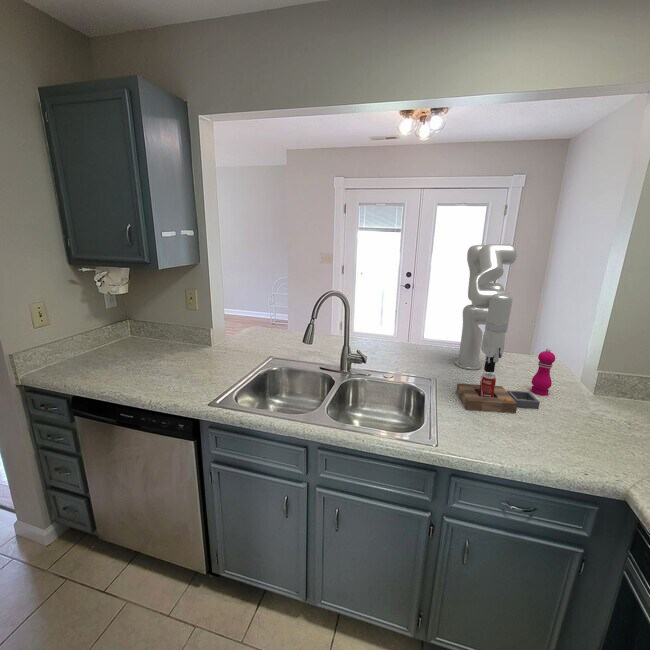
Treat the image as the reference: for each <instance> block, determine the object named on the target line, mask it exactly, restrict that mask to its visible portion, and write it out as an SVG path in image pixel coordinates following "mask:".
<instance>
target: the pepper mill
mask: <svg viewBox="0 0 650 650" xmlns="http://www.w3.org/2000/svg"><path fill="white" fill-rule="evenodd" d="M551 351H552V349H551V348H546V349H545V351H544V350H543V351H541V352H539V354H538V356H537V357H538V359H537V360H539V361H538V364H537V365H538V369H537V371H536V373H535V375H534V376H532V377H531V384H532V386H531V389H530V391H531V392H532V393H533V394H536V395H538V396H548V395H549V389H550V388H551V387H552V384H553V382H552V378H551V369H552V368H553V363H555V361H556V355H555V354H554V353H553V352H551Z"/></svg>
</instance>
